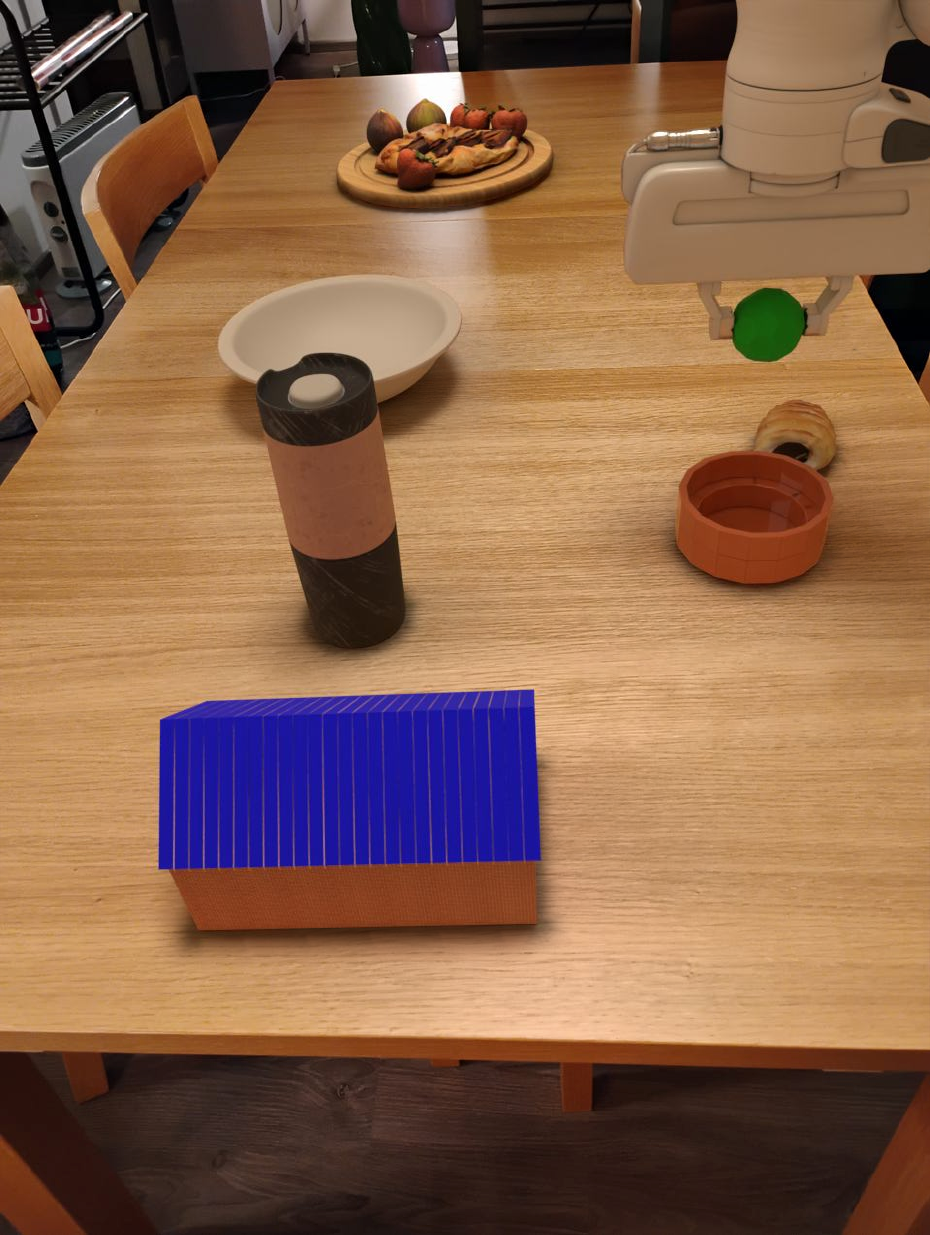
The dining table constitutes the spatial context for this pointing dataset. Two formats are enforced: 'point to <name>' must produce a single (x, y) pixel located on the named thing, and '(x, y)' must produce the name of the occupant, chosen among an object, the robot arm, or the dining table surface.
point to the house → (352, 810)
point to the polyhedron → (767, 325)
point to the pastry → (798, 433)
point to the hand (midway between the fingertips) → (766, 334)
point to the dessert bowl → (752, 516)
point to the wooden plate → (444, 157)
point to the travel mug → (335, 495)
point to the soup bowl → (345, 328)
